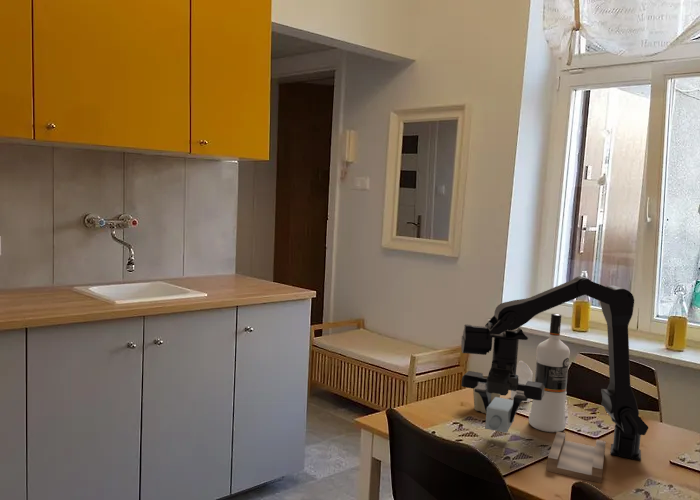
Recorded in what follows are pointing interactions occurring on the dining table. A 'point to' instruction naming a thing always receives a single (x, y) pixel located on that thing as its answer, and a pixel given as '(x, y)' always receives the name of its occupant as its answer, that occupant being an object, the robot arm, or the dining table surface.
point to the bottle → (499, 415)
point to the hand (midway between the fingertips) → (499, 420)
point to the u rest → (576, 458)
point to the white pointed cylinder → (522, 376)
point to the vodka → (551, 381)
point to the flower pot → (479, 402)
